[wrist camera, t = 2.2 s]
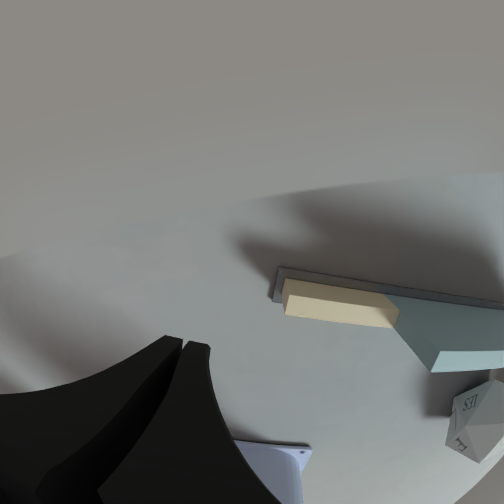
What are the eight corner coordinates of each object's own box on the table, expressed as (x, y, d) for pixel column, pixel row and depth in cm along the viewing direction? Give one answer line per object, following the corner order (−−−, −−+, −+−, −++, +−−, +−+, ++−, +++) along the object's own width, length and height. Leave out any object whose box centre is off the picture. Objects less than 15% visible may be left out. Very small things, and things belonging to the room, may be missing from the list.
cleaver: (281, 295, 19) (293, 365, 11) (285, 277, 19) (300, 340, 11) (511, 322, 19) (560, 358, 11) (515, 311, 19) (566, 345, 11)
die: (470, 352, 21) (459, 446, 14) (535, 360, 17) (535, 448, 10) (444, 394, 26) (426, 470, 19) (502, 401, 21) (492, 475, 14)
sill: (271, 300, 19) (272, 301, 19) (278, 266, 19) (279, 267, 19) (567, 328, 20) (569, 329, 19) (573, 313, 19) (574, 313, 19)
